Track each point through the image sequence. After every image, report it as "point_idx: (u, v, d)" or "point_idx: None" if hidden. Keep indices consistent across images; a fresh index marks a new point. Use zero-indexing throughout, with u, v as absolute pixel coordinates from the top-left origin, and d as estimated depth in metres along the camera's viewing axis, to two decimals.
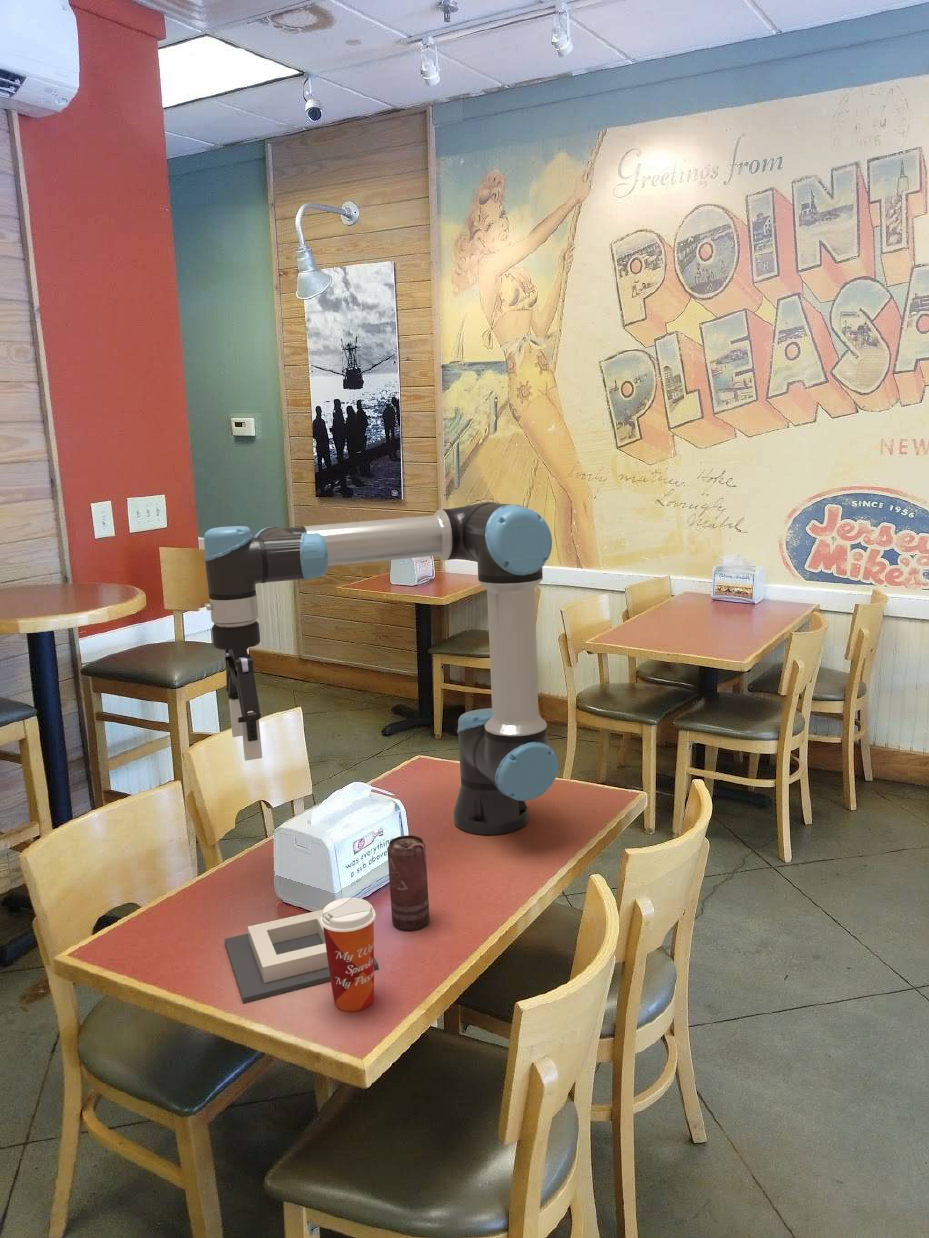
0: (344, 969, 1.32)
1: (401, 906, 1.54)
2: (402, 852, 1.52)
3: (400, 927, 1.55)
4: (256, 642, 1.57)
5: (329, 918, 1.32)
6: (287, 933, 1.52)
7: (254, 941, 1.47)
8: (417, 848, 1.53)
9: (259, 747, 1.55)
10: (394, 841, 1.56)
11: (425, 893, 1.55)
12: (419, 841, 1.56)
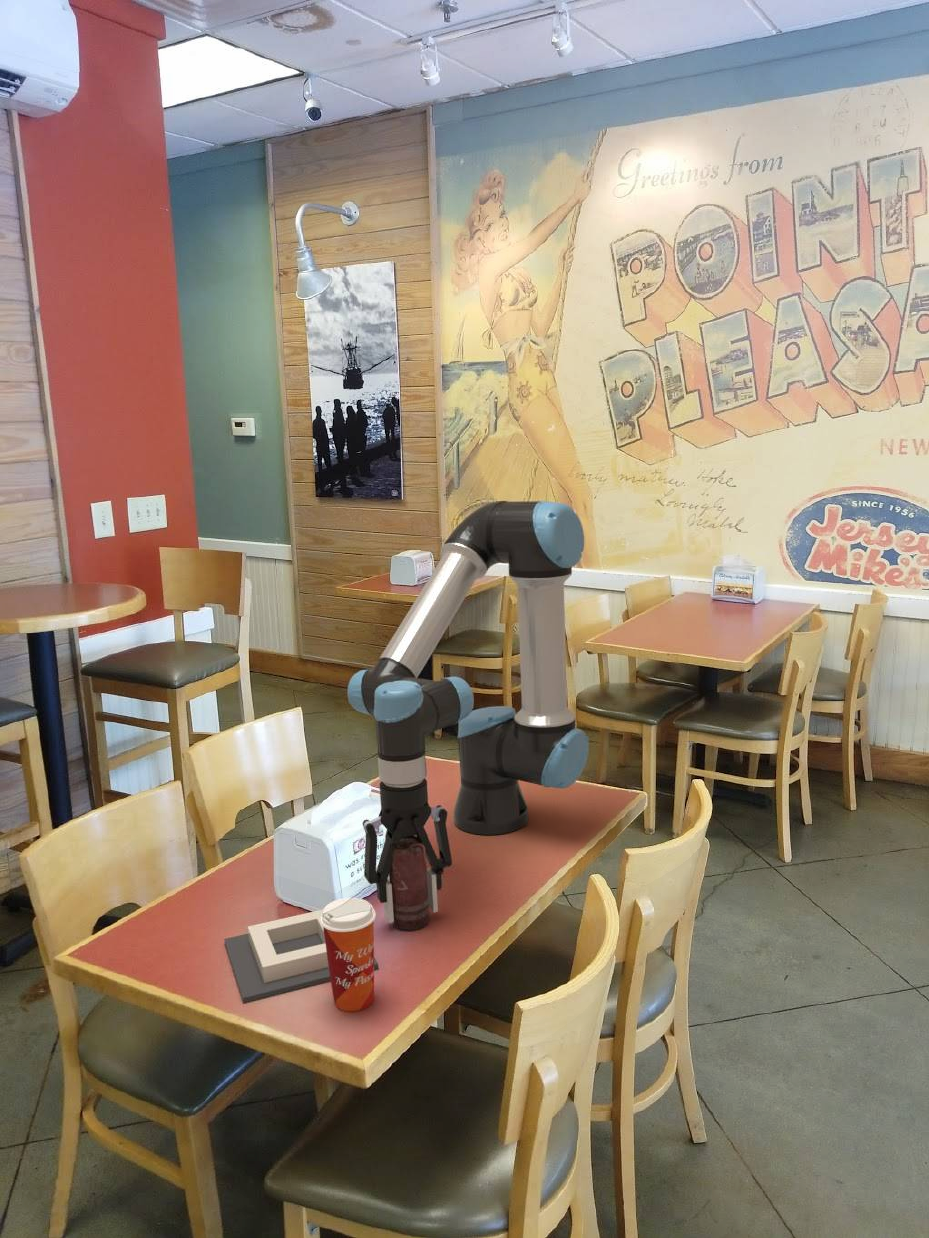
0: (344, 969, 1.32)
1: (401, 906, 1.54)
2: (402, 852, 1.52)
3: (400, 927, 1.55)
4: (394, 807, 1.50)
5: (329, 918, 1.32)
6: (287, 933, 1.52)
7: (254, 941, 1.47)
8: (417, 848, 1.53)
9: (388, 911, 1.54)
10: None
11: (425, 893, 1.55)
12: (419, 841, 1.56)
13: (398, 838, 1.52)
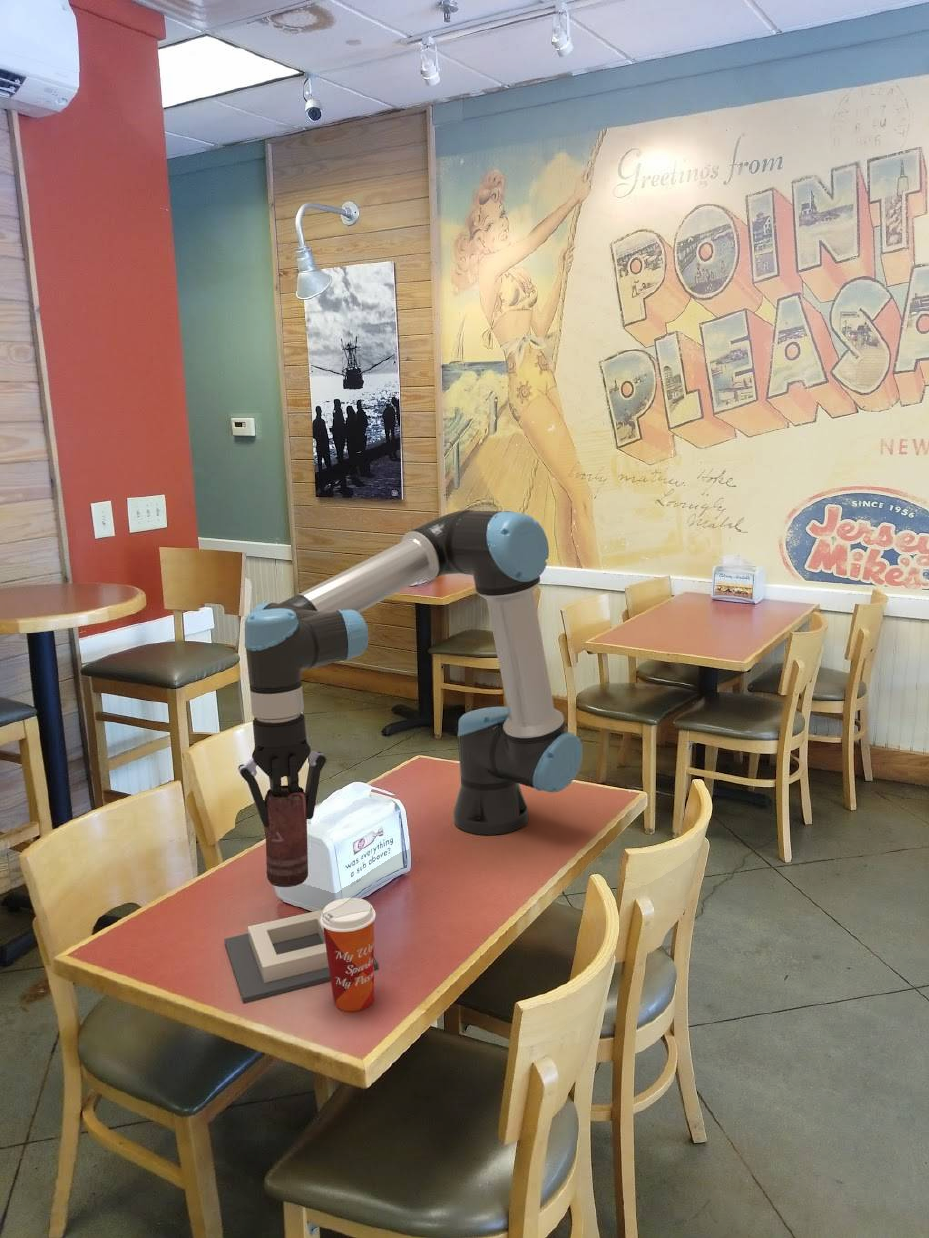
0: (344, 969, 1.32)
1: (275, 860, 1.42)
2: (278, 800, 1.41)
3: (274, 883, 1.43)
4: (266, 744, 1.39)
5: (329, 918, 1.32)
6: (287, 933, 1.52)
7: (254, 941, 1.47)
8: (295, 797, 1.42)
9: None
10: None
11: (303, 847, 1.44)
12: (300, 791, 1.45)
13: (278, 778, 1.41)
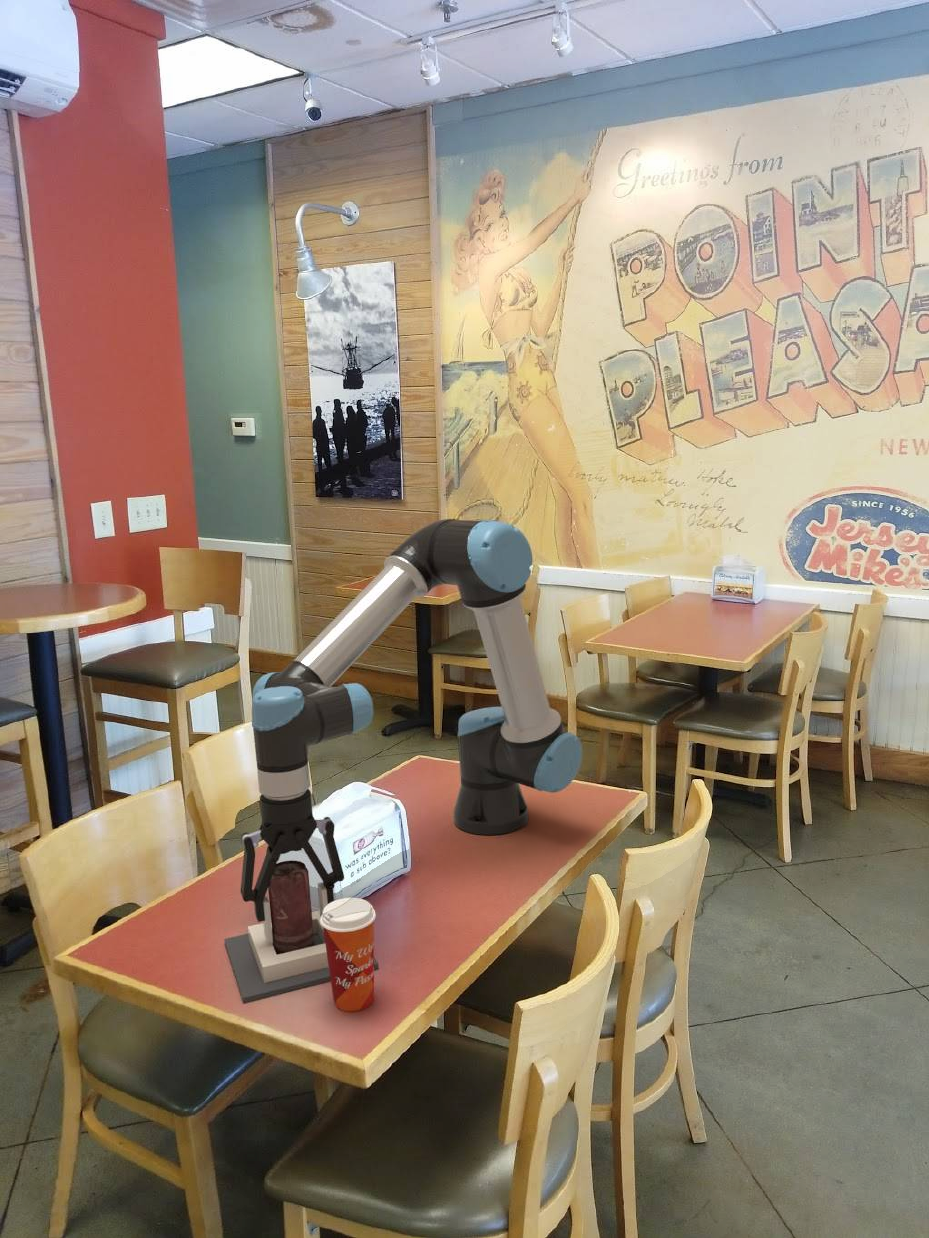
0: (344, 969, 1.32)
1: (281, 936, 1.45)
2: (281, 879, 1.43)
3: None
4: (273, 821, 1.41)
5: (329, 918, 1.32)
6: None
7: (254, 941, 1.47)
8: (297, 875, 1.44)
9: (266, 930, 1.45)
10: (276, 866, 1.47)
11: (308, 922, 1.46)
12: (302, 867, 1.47)
13: (278, 853, 1.43)
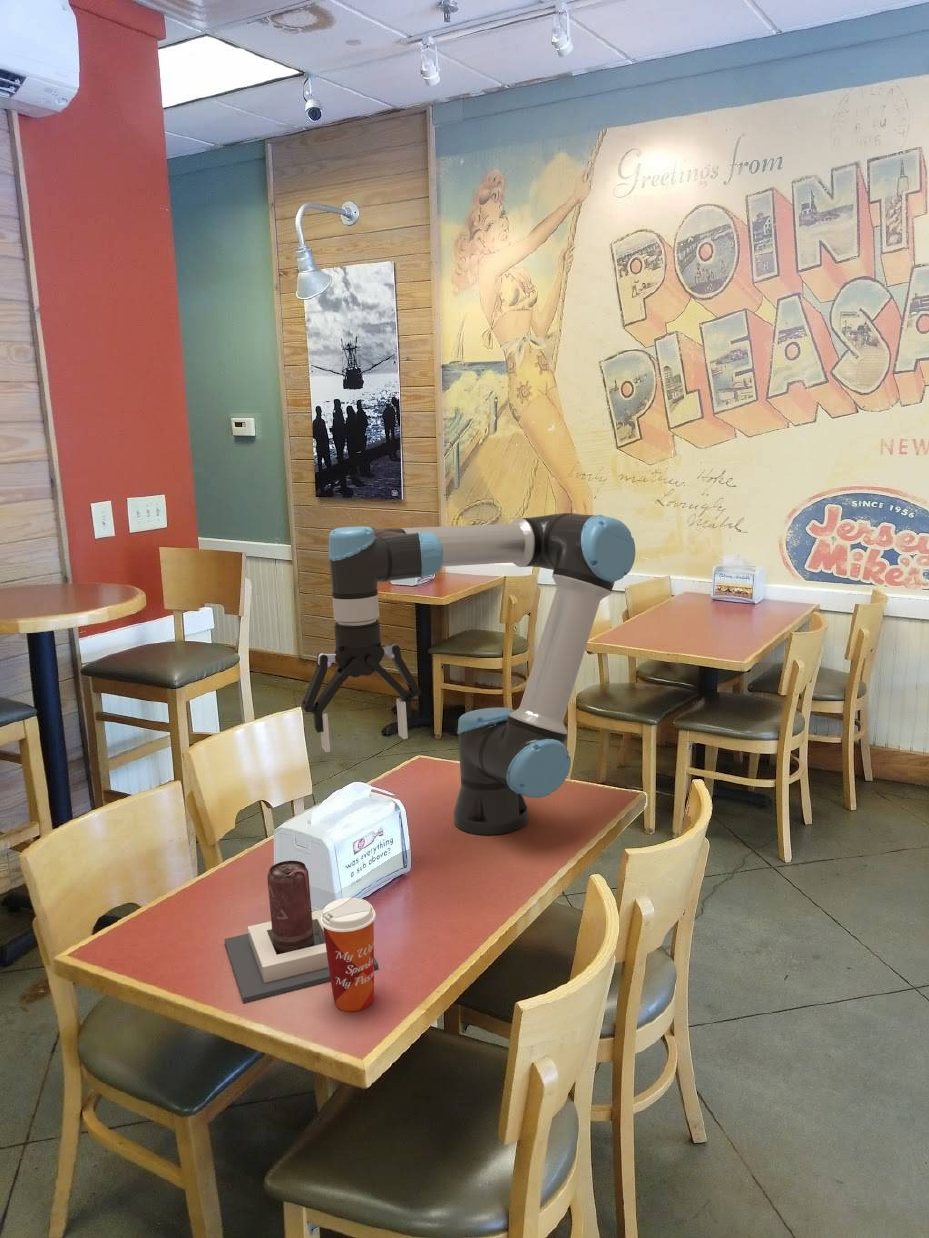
0: (344, 969, 1.32)
1: (281, 937, 1.45)
2: (281, 879, 1.43)
3: None
4: (347, 644, 1.57)
5: (329, 918, 1.32)
6: None
7: (254, 941, 1.47)
8: (297, 875, 1.44)
9: (324, 740, 1.61)
10: (276, 867, 1.47)
11: (308, 922, 1.46)
12: (302, 867, 1.47)
13: (347, 675, 1.59)
